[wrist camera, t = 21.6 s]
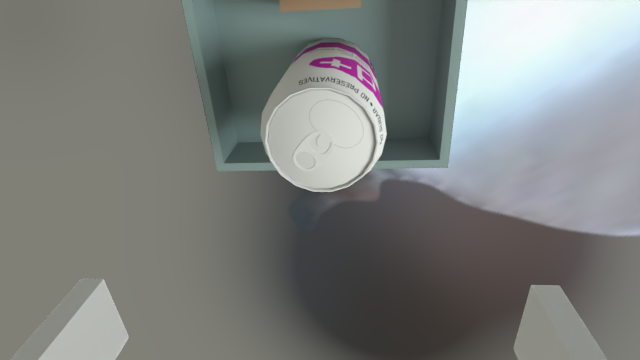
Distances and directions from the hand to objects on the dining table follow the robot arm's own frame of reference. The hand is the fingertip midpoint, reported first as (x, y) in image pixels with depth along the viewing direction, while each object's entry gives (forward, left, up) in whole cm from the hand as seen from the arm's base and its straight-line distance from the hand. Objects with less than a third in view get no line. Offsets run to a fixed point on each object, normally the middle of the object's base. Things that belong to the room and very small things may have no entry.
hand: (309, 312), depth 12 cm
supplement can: (0, -1, -28) cm, 28 cm away
